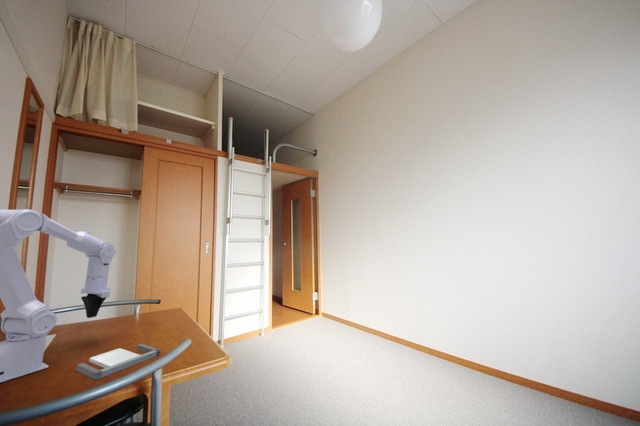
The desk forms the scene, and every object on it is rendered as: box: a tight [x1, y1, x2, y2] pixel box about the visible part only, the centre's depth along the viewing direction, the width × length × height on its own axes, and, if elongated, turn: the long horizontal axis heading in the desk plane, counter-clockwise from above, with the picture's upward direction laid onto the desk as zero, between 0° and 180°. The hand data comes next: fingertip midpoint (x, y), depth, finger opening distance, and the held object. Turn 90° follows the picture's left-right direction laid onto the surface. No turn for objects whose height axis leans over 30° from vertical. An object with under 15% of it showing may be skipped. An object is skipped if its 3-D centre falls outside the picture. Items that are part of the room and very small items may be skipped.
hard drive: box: [88, 347, 141, 369], centre depth 73 cm, size 2×8×12 cm
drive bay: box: [76, 343, 161, 381], centre depth 72 cm, size 16×10×2 cm, turn 155°
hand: (91, 317), depth 84 cm, fingers closed
